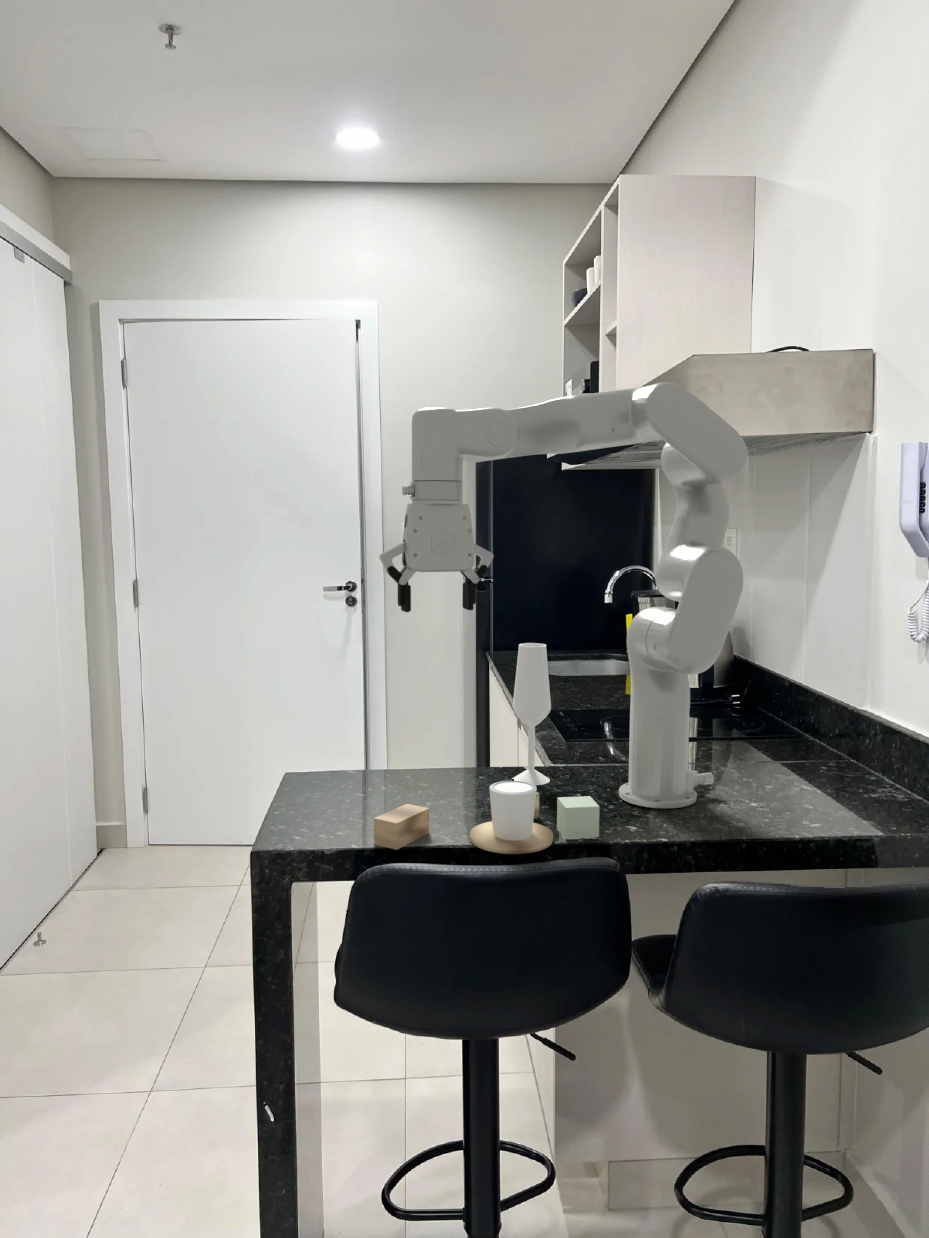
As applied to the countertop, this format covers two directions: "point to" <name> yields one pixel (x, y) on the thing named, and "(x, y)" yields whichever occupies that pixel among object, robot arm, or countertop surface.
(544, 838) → the cork trivet
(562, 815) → the sage painted cube
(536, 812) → the birch cube
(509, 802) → the shot glass
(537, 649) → the champagne flute
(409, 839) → the oak brick
